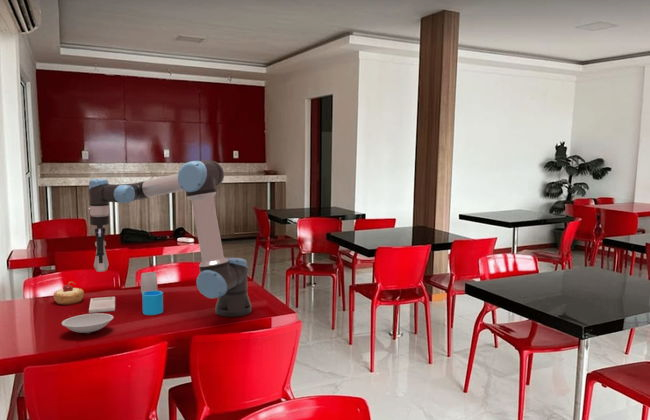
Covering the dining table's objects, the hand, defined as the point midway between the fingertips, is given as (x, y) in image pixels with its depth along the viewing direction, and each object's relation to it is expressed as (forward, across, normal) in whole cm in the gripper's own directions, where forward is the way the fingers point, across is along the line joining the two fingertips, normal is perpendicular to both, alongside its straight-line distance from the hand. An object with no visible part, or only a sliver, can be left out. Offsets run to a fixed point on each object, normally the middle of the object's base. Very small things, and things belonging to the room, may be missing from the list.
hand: (101, 268), depth 225 cm
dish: (+17, +33, -4) cm, 37 cm away
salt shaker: (+1, 0, 0) cm, 1 cm away
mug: (+17, +13, +20) cm, 29 cm away
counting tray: (+17, 0, 0) cm, 17 cm away
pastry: (+17, -12, -14) cm, 25 cm away
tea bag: (+17, -15, +20) cm, 30 cm away
